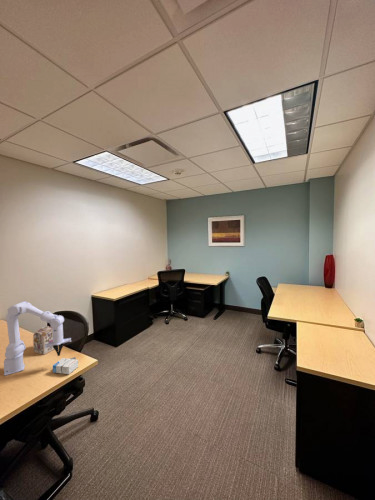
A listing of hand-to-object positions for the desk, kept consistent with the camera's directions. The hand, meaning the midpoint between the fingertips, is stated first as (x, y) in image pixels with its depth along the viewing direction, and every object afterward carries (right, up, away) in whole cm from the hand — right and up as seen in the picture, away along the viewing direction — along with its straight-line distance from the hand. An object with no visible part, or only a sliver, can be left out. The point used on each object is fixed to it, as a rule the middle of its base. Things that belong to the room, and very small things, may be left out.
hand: (58, 355), depth 132 cm
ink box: (0, -6, -1) cm, 6 cm away
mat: (+5, -8, +4) cm, 11 cm away
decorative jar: (-24, -8, +23) cm, 34 cm away
